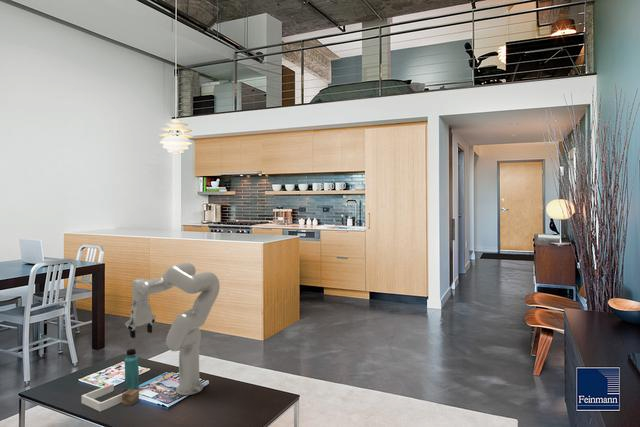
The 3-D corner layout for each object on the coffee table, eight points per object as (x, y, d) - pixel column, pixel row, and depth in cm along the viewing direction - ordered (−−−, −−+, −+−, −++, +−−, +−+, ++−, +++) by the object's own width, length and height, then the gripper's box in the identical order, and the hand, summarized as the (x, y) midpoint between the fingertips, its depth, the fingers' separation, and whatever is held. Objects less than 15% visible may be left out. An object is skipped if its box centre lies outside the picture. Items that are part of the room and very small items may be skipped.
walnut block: (139, 400, 196) (138, 389, 195) (132, 405, 191) (131, 394, 190) (129, 399, 197) (129, 388, 196) (122, 404, 192) (122, 393, 192)
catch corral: (131, 398, 198) (131, 390, 197) (100, 411, 185) (100, 403, 185) (112, 390, 206) (112, 383, 205) (81, 403, 193) (81, 395, 193)
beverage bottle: (141, 389, 206) (141, 349, 206) (127, 394, 202) (127, 353, 201) (135, 385, 211) (135, 346, 210) (122, 390, 206) (121, 349, 205)
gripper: (129, 307, 210) (130, 340, 210) (159, 300, 224) (160, 331, 225) (120, 305, 214) (121, 338, 214) (150, 298, 228) (151, 329, 229)
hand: (141, 335), depth 220 cm, fingers open, 9 cm apart
